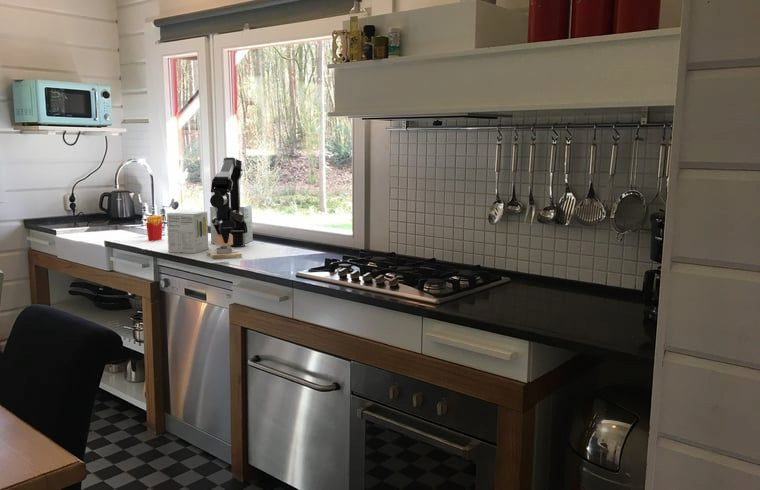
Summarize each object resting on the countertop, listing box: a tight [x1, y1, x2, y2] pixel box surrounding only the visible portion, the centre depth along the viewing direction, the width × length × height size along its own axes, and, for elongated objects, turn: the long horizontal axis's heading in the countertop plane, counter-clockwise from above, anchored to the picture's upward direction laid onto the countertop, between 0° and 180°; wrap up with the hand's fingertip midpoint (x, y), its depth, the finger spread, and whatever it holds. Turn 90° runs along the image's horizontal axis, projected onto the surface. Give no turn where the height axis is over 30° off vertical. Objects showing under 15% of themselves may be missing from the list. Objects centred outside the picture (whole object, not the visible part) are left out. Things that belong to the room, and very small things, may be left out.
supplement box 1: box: [166, 209, 209, 254], centre depth 285 cm, size 13×13×18 cm
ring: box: [214, 234, 233, 247], centre depth 272 cm, size 7×7×4 cm
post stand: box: [206, 246, 243, 260], centre depth 272 cm, size 12×12×8 cm
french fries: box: [145, 214, 164, 242], centre depth 317 cm, size 8×4×12 cm, turn 143°
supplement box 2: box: [209, 204, 254, 245], centre depth 312 cm, size 17×13×18 cm
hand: (224, 242), depth 272 cm, fingers closed on ring, 7 cm apart
